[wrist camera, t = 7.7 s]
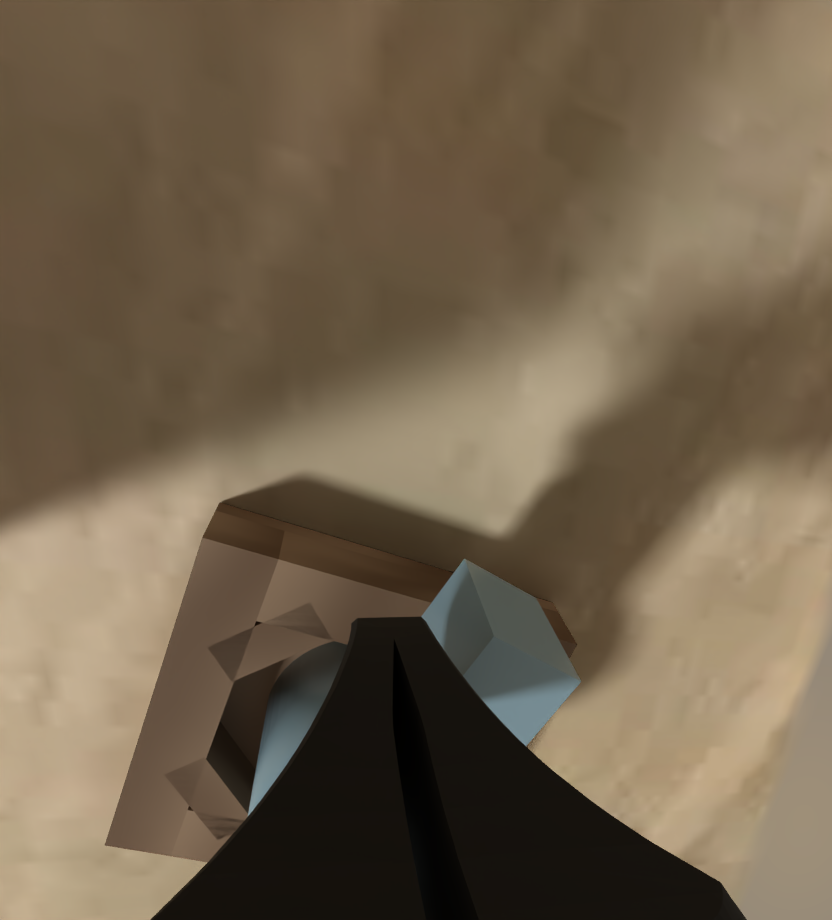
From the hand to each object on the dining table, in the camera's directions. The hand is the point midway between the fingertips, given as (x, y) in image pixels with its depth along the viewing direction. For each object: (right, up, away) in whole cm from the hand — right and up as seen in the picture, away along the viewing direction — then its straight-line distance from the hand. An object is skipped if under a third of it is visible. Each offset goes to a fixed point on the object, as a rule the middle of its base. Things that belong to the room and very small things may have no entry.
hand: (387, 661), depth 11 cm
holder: (-2, -3, +7) cm, 8 cm away
